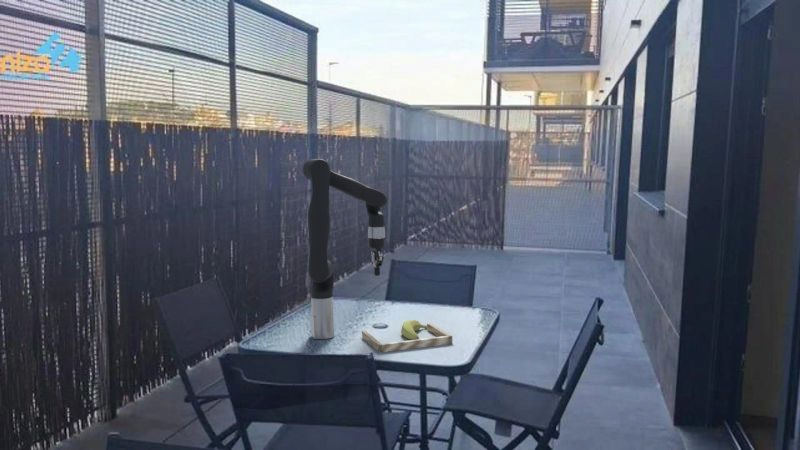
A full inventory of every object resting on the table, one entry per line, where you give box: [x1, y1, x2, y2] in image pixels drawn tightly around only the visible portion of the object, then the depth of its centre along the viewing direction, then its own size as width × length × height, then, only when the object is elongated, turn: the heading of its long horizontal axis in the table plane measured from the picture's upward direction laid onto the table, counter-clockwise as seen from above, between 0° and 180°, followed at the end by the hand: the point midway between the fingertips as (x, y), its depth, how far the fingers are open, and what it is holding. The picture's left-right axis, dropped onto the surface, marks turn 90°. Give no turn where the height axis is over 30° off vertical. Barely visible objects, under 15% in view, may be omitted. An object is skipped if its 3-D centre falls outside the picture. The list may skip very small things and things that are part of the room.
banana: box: [400, 319, 427, 340], centre depth 296 cm, size 14×6×20 cm
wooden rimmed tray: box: [361, 322, 453, 354], centre depth 286 cm, size 31×24×3 cm
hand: (376, 275), depth 307 cm, fingers closed
